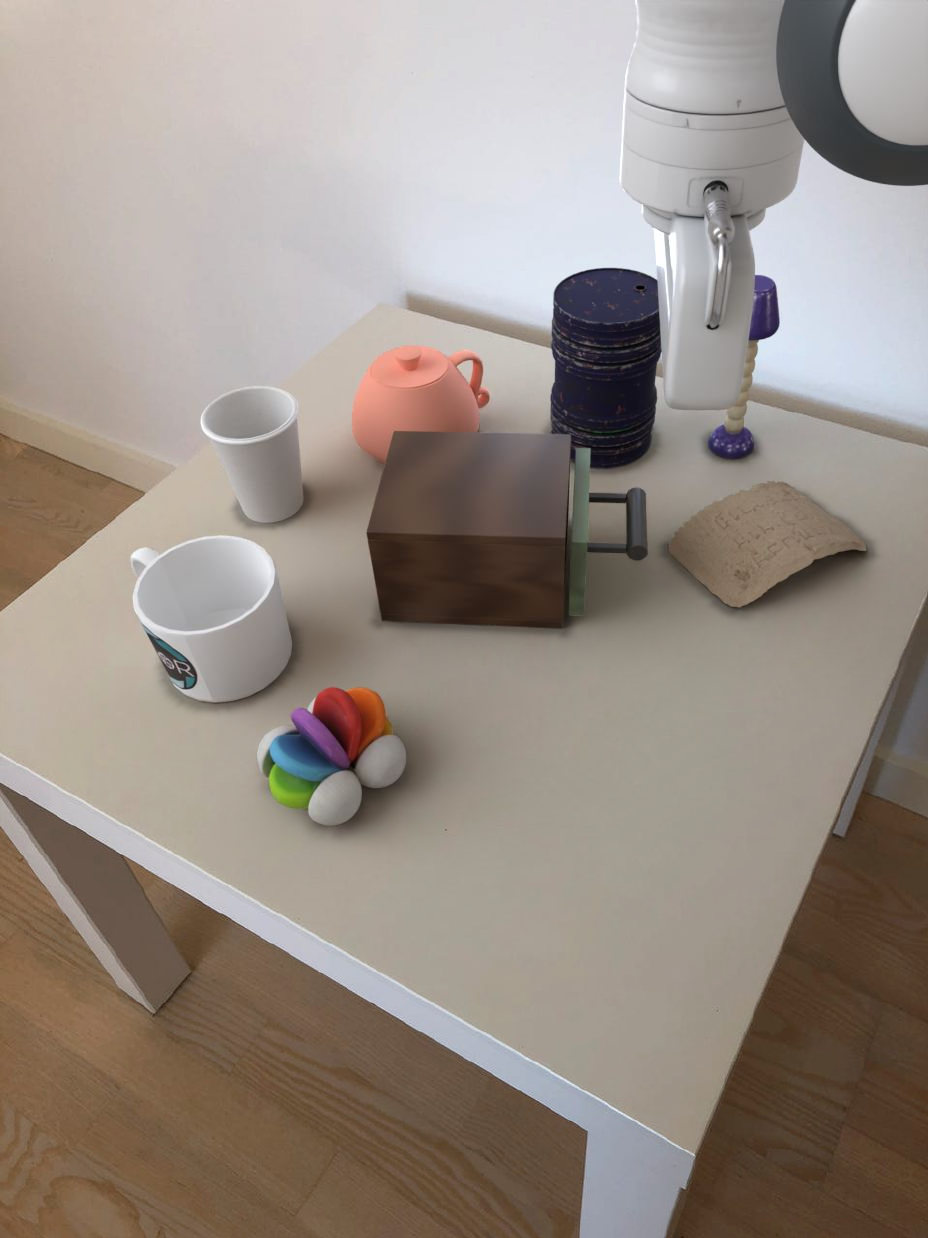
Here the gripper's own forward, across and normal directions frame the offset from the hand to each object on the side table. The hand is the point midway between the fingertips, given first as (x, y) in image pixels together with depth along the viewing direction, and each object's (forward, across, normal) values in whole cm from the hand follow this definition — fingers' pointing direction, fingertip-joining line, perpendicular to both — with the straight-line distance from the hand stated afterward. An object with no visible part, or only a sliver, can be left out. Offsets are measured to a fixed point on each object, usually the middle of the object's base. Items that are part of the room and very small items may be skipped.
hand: (681, 386), depth 57 cm
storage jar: (+23, +26, +4) cm, 35 cm away
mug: (+23, -3, +34) cm, 41 cm away
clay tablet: (+23, +11, -10) cm, 27 cm away
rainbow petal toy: (+23, -14, +22) cm, 35 cm away
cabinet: (+23, +7, +14) cm, 28 cm away
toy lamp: (+23, +25, -8) cm, 35 cm away
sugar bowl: (+23, +25, +21) cm, 40 cm away
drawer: (+22, +7, +10) cm, 25 cm away
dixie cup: (+23, +15, +34) cm, 44 cm away
